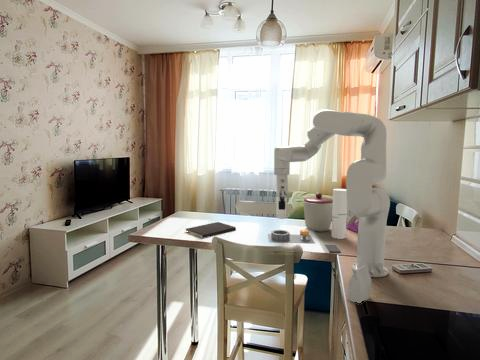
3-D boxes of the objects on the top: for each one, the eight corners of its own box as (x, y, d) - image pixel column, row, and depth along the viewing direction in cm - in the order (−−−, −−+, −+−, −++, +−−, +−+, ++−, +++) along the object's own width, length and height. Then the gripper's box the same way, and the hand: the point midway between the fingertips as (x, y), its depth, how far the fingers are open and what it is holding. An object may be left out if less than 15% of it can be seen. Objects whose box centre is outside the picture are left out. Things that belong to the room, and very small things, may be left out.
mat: (340, 252, 135) (340, 251, 135) (320, 252, 136) (320, 250, 136) (335, 246, 144) (335, 244, 144) (316, 245, 145) (316, 244, 145)
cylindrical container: (346, 239, 155) (348, 190, 152) (332, 238, 156) (333, 190, 154) (344, 235, 162) (346, 188, 159) (330, 234, 163) (332, 188, 161)
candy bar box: (345, 228, 176) (346, 200, 174) (352, 227, 178) (353, 200, 176) (359, 233, 165) (360, 204, 164) (366, 232, 167) (368, 203, 165)
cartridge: (287, 218, 149) (287, 194, 147) (276, 218, 149) (276, 194, 148) (286, 216, 154) (286, 193, 153) (275, 216, 154) (275, 193, 153)
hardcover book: (185, 232, 167) (185, 228, 167) (218, 225, 183) (218, 221, 182) (202, 239, 155) (202, 234, 155) (235, 231, 171) (236, 227, 171)
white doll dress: (370, 297, 95) (372, 266, 94) (359, 304, 91) (361, 272, 90) (359, 293, 98) (360, 263, 97) (348, 299, 94) (349, 268, 92)
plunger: (309, 240, 150) (309, 232, 149) (300, 240, 150) (300, 232, 150) (308, 238, 154) (308, 229, 154) (299, 237, 155) (299, 229, 154)
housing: (315, 245, 145) (315, 237, 145) (268, 244, 146) (269, 236, 146) (309, 236, 159) (310, 229, 159) (267, 235, 160) (267, 228, 160)
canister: (333, 235, 162) (335, 196, 160) (299, 231, 168) (300, 194, 166) (334, 226, 179) (336, 191, 177) (303, 224, 185) (304, 189, 183)
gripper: (291, 173, 140) (290, 211, 142) (287, 170, 157) (287, 205, 159) (275, 173, 141) (274, 211, 143) (273, 170, 158) (272, 205, 160)
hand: (281, 207), depth 151 cm, fingers closed on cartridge, 5 cm apart
